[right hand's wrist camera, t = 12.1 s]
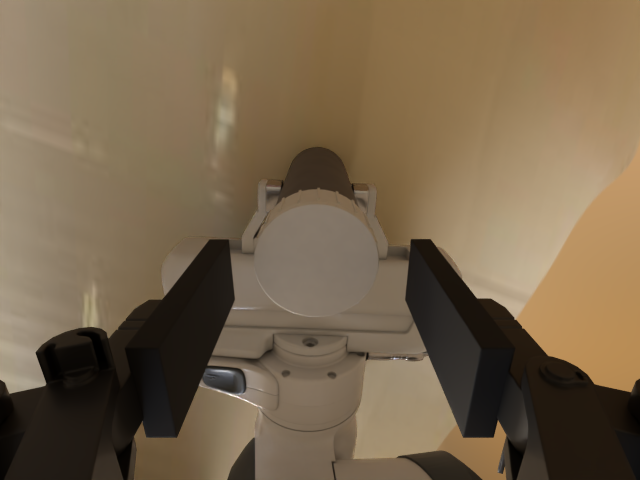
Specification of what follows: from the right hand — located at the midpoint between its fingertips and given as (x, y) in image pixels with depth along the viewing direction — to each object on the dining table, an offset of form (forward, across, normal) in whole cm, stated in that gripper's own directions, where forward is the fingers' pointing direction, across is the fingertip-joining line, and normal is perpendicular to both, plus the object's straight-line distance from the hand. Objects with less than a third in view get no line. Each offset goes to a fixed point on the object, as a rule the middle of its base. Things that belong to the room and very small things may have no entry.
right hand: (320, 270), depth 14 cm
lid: (0, 0, 0) cm, 0 cm away
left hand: (+10, 0, -1) cm, 10 cm away
